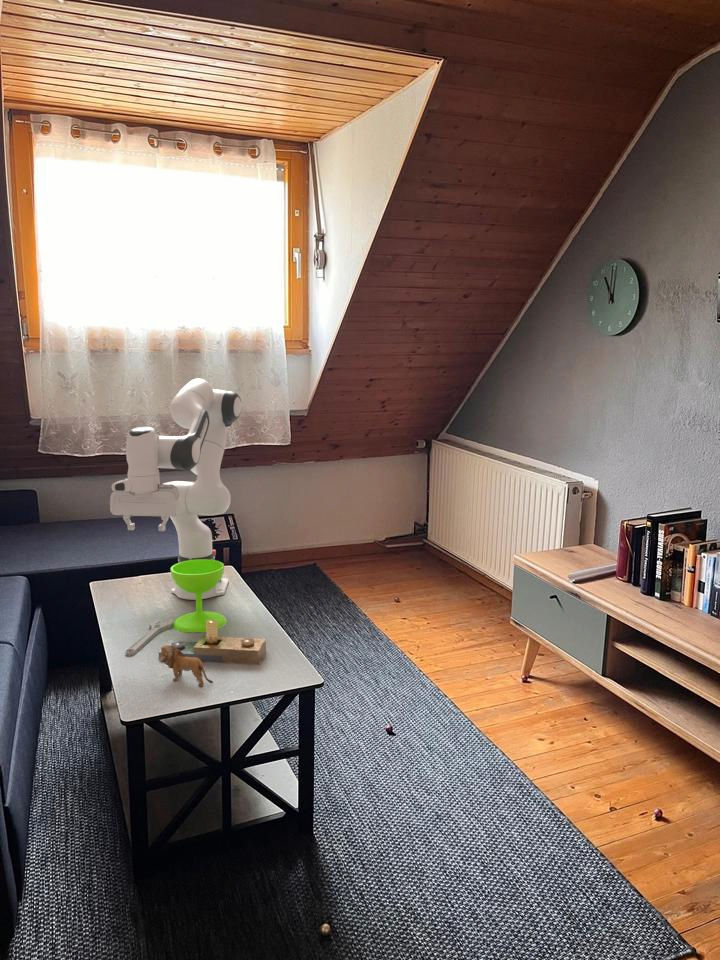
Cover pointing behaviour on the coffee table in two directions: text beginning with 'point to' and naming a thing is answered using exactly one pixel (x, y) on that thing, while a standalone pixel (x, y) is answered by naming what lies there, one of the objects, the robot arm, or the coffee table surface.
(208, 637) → the brass pin
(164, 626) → the adjustable wrench
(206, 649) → the door latch
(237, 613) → the coffee table surface
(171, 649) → the lion figurine
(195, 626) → the wineglass
